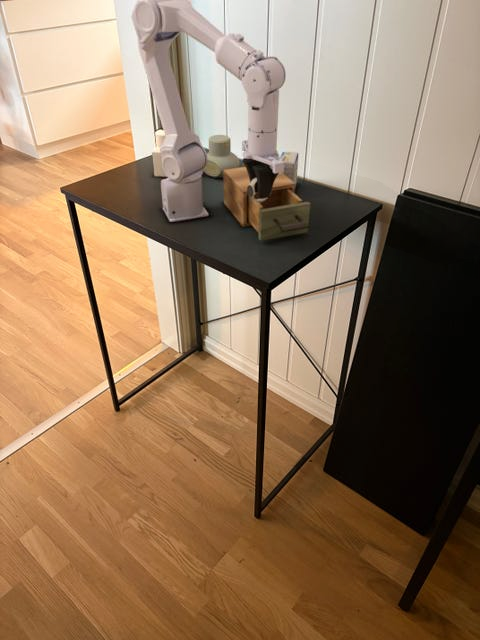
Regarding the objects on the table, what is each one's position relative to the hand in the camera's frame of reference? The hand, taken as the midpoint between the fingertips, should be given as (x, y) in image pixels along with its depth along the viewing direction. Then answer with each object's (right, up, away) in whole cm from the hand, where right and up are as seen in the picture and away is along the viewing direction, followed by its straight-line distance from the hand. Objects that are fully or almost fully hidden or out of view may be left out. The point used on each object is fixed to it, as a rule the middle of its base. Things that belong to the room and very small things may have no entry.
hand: (260, 194), depth 104 cm
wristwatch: (0, -1, +1) cm, 2 cm away
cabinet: (0, 0, +16) cm, 16 cm away
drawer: (+4, -6, +7) cm, 10 cm away
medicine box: (+8, +8, +26) cm, 28 cm away
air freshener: (-10, +14, +34) cm, 38 cm away
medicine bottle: (-24, +15, +35) cm, 45 cm away
